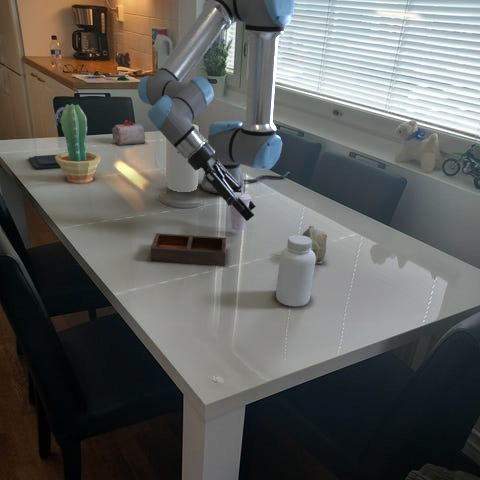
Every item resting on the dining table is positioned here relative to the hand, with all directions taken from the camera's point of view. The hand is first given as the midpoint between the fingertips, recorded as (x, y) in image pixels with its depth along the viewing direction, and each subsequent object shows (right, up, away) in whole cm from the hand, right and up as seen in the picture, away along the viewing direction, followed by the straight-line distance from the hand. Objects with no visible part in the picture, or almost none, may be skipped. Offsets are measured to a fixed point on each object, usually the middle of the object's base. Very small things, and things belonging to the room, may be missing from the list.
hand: (251, 213), depth 144 cm
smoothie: (-4, -4, +3) cm, 6 cm away
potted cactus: (-61, +20, +37) cm, 74 cm away
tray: (-17, -13, -10) cm, 24 cm away
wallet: (-74, +31, +52) cm, 96 cm away
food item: (-54, +50, +86) cm, 113 cm away
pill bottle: (+9, -26, -27) cm, 38 cm away
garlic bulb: (+16, -14, -7) cm, 23 cm away
